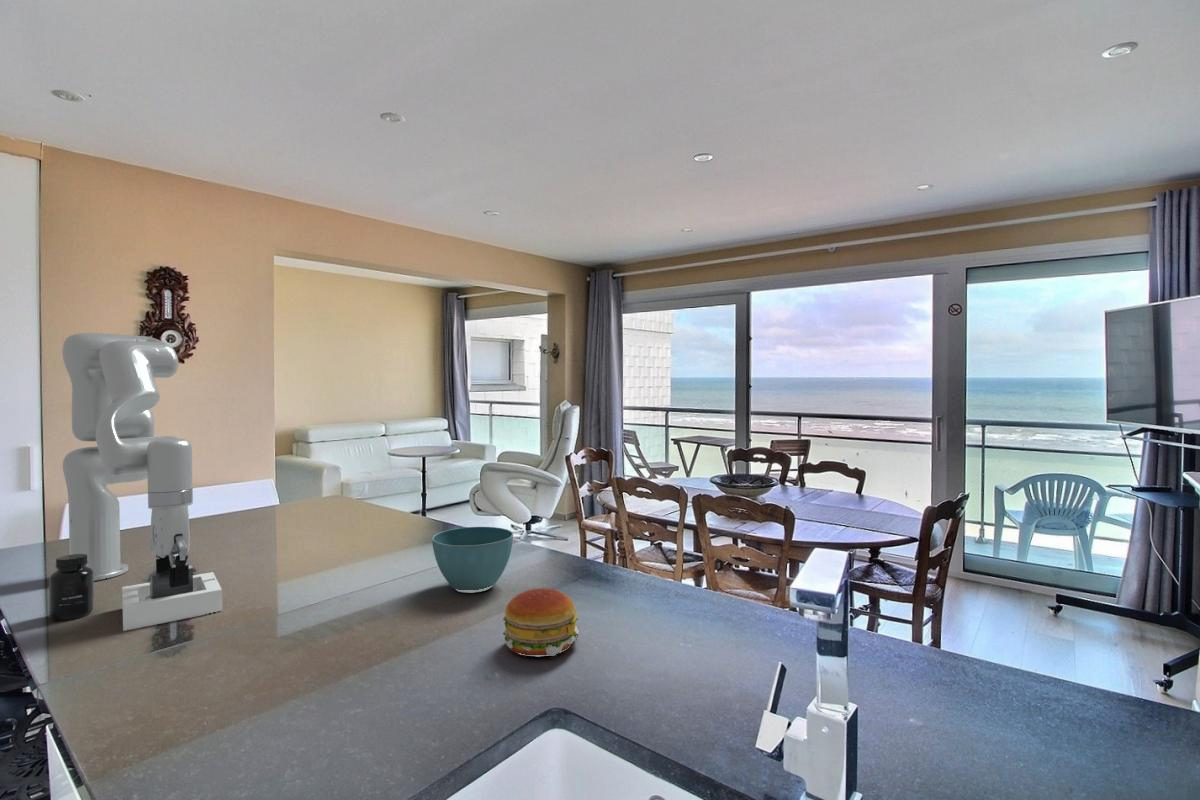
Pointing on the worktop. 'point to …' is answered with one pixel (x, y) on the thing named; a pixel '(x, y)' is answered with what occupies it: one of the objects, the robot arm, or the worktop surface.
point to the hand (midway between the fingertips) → (172, 580)
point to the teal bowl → (472, 555)
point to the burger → (540, 622)
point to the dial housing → (170, 603)
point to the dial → (162, 588)
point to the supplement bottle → (71, 588)
